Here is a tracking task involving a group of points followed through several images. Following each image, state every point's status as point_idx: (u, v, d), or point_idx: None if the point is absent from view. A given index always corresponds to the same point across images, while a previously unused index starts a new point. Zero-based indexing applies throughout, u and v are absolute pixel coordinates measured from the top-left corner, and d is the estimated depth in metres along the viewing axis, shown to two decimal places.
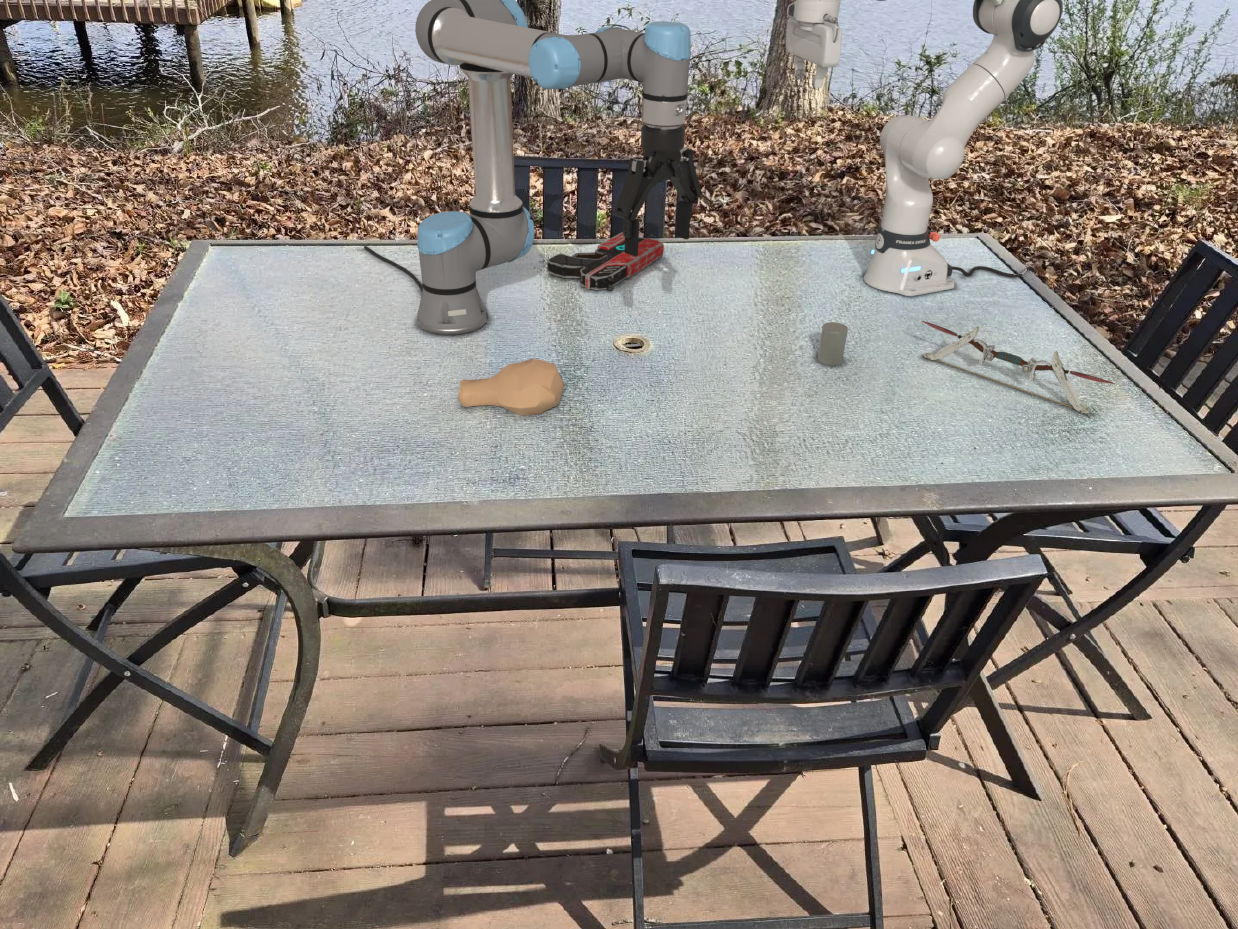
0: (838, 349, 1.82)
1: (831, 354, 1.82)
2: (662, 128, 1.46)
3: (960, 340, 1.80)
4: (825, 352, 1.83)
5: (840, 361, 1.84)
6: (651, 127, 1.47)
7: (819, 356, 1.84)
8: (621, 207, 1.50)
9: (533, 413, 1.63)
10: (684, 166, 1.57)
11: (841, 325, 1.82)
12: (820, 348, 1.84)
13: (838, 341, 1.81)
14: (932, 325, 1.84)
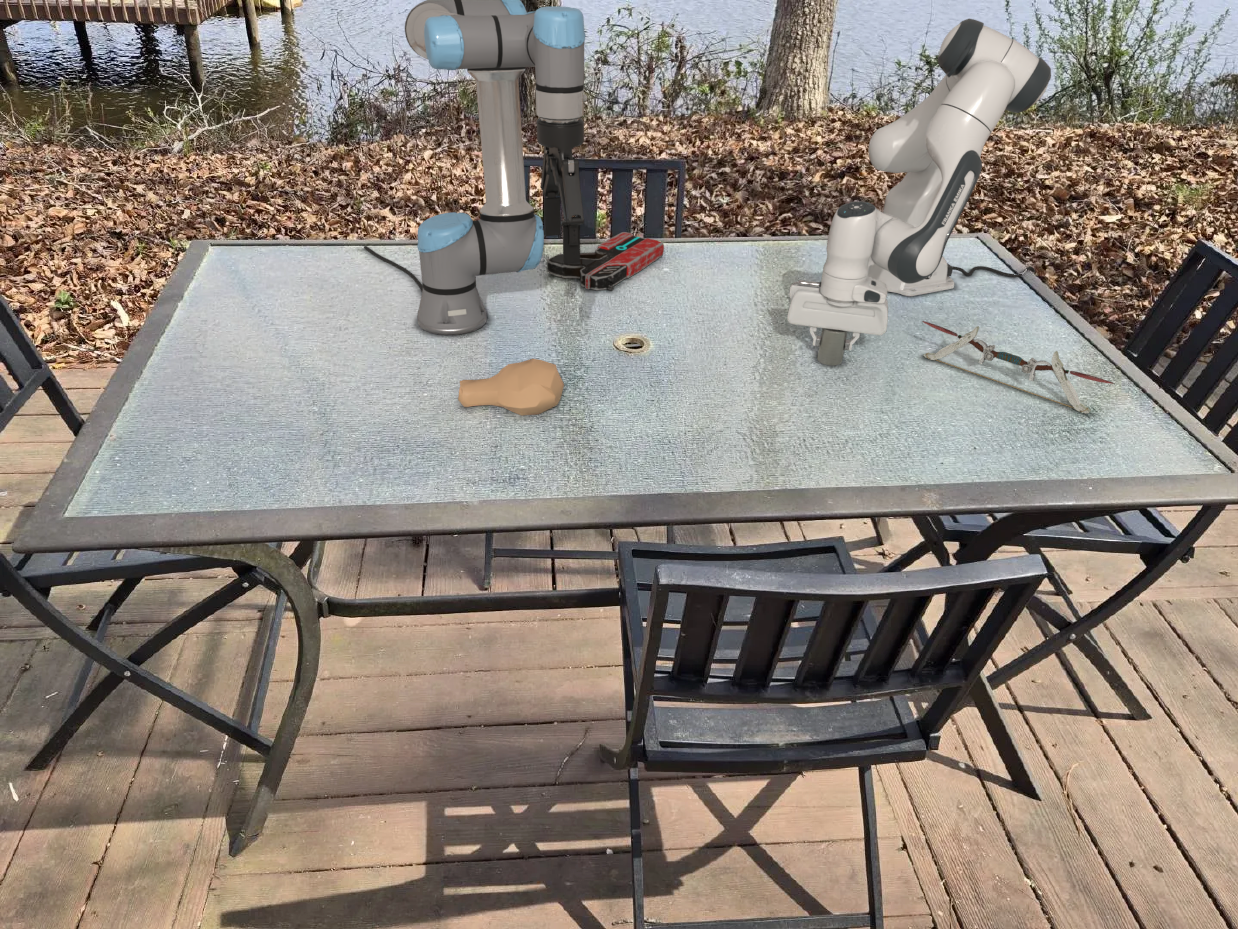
0: (838, 349, 1.82)
1: (831, 354, 1.82)
2: (576, 120, 1.37)
3: (960, 340, 1.80)
4: (825, 352, 1.83)
5: (840, 361, 1.84)
6: (566, 122, 1.36)
7: (819, 356, 1.84)
8: (576, 213, 1.37)
9: (533, 413, 1.63)
10: None
11: None
12: (820, 348, 1.84)
13: (838, 341, 1.81)
14: (932, 325, 1.84)
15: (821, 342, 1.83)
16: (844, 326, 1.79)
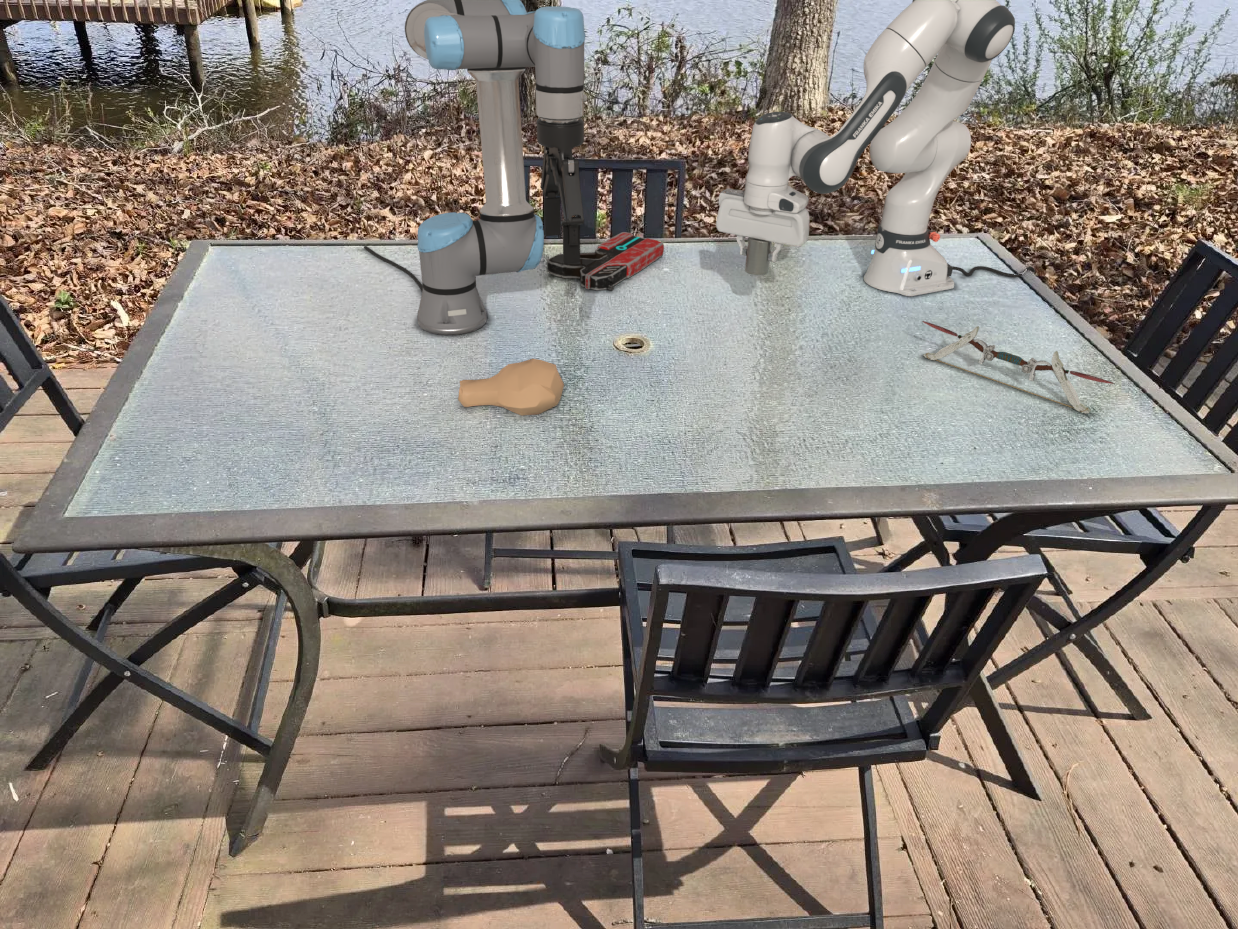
0: (760, 258, 1.89)
1: (754, 263, 1.90)
2: (576, 120, 1.37)
3: (960, 340, 1.80)
4: (749, 261, 1.91)
5: (764, 272, 1.91)
6: (566, 122, 1.36)
7: (745, 265, 1.93)
8: (576, 213, 1.37)
9: (533, 413, 1.63)
10: None
11: None
12: (746, 257, 1.92)
13: (760, 250, 1.88)
14: (932, 325, 1.84)
15: (747, 251, 1.91)
16: (765, 235, 1.87)
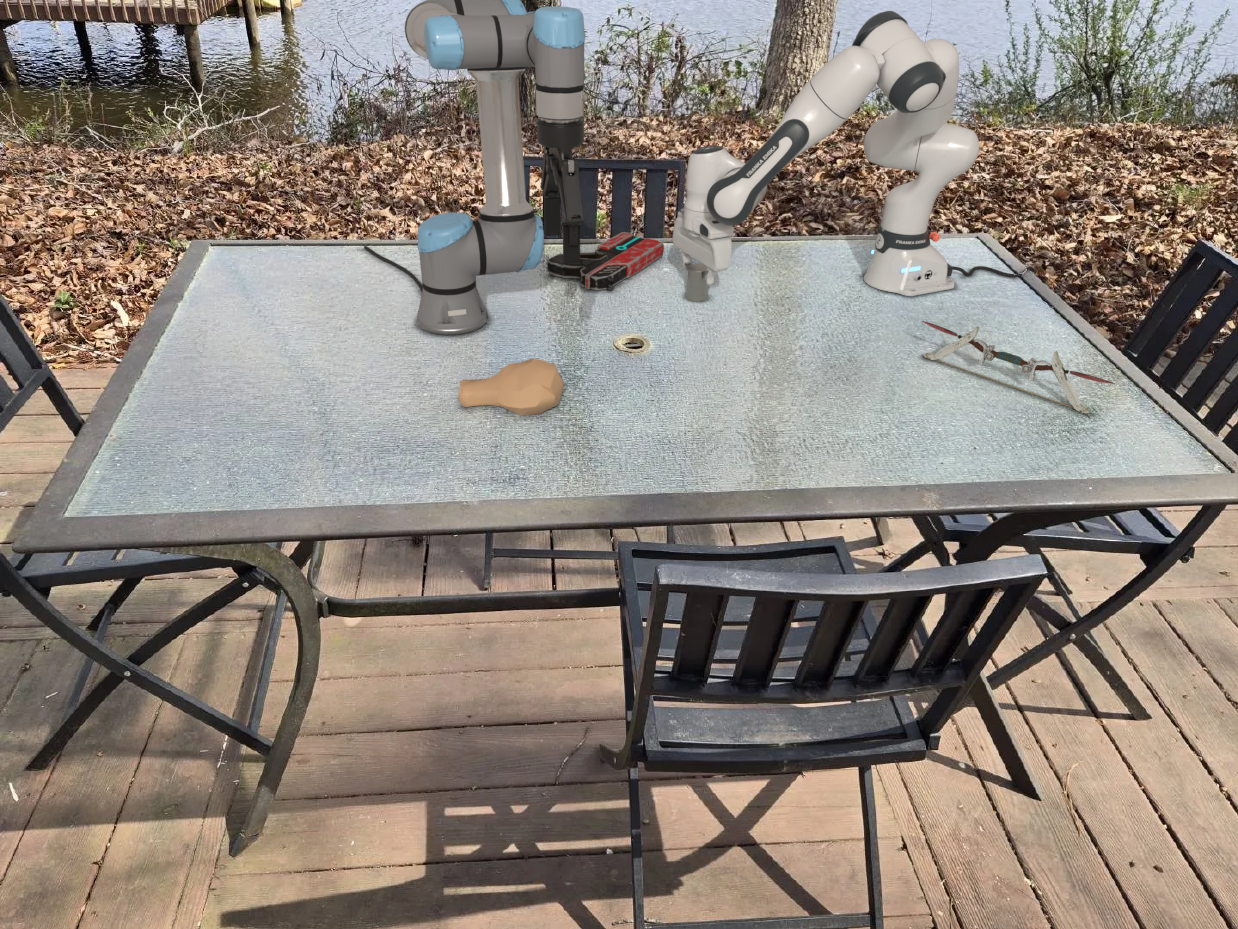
0: (692, 285, 2.08)
1: (688, 289, 2.09)
2: (576, 120, 1.37)
3: (960, 340, 1.80)
4: None
5: (697, 299, 2.10)
6: (566, 122, 1.36)
7: None
8: (576, 213, 1.37)
9: (533, 413, 1.63)
10: None
11: (705, 268, 2.07)
12: None
13: (692, 278, 2.07)
14: (932, 325, 1.84)
15: None
16: (697, 256, 2.04)
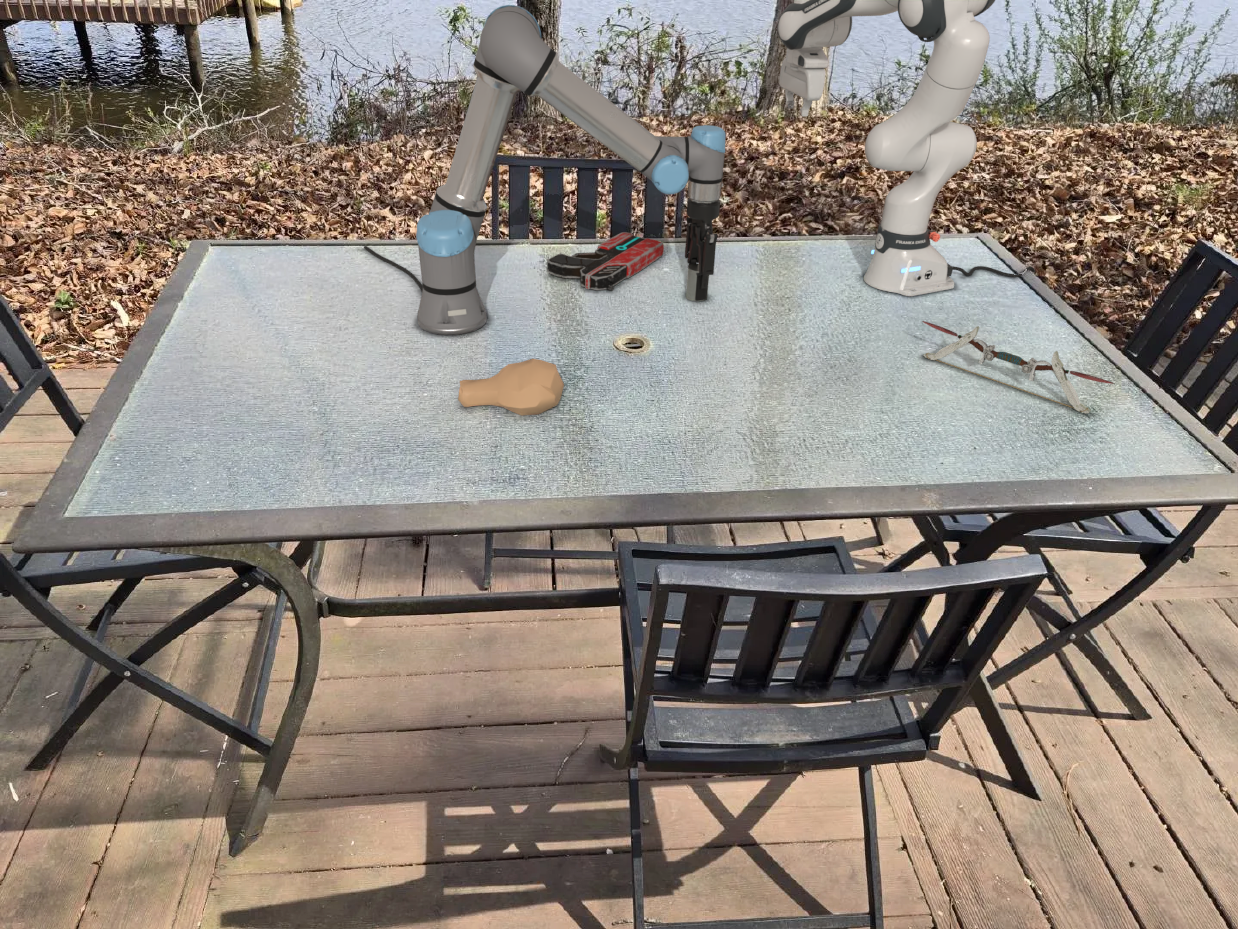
0: (692, 285, 2.08)
1: (688, 289, 2.09)
2: (716, 201, 1.97)
3: (960, 340, 1.80)
4: None
5: None
6: (710, 203, 1.96)
7: None
8: (709, 269, 2.02)
9: (533, 413, 1.63)
10: None
11: None
12: None
13: (692, 278, 2.07)
14: (932, 325, 1.84)
15: None
16: (795, 89, 2.29)
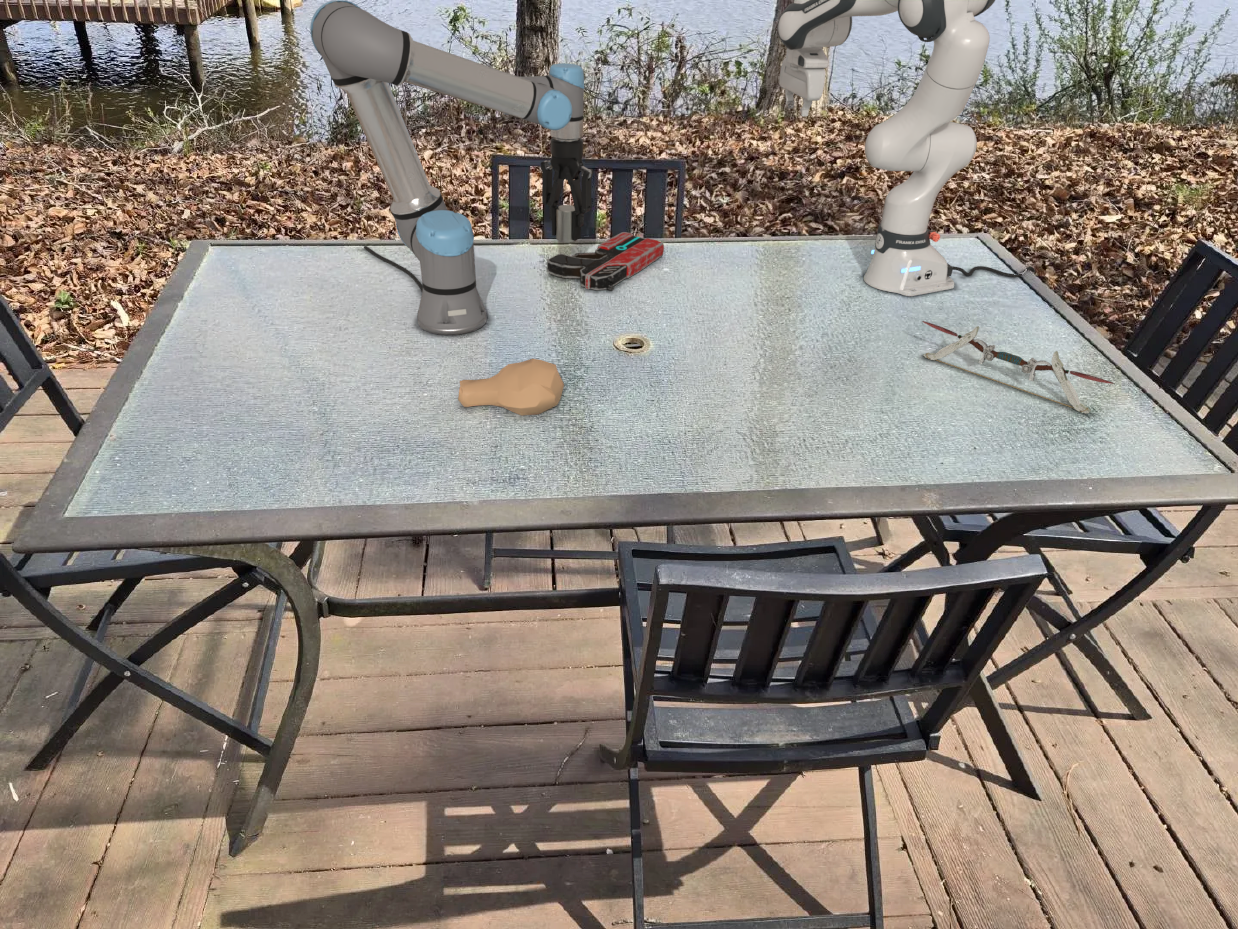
0: (568, 227, 2.10)
1: (563, 231, 2.11)
2: (580, 137, 2.02)
3: (960, 340, 1.80)
4: (558, 229, 2.11)
5: None
6: (578, 139, 2.00)
7: (556, 234, 2.13)
8: (588, 205, 2.07)
9: (533, 413, 1.63)
10: (549, 174, 2.08)
11: (573, 207, 2.11)
12: (556, 227, 2.13)
13: (567, 219, 2.09)
14: (932, 325, 1.84)
15: (556, 221, 2.12)
16: (795, 89, 2.29)
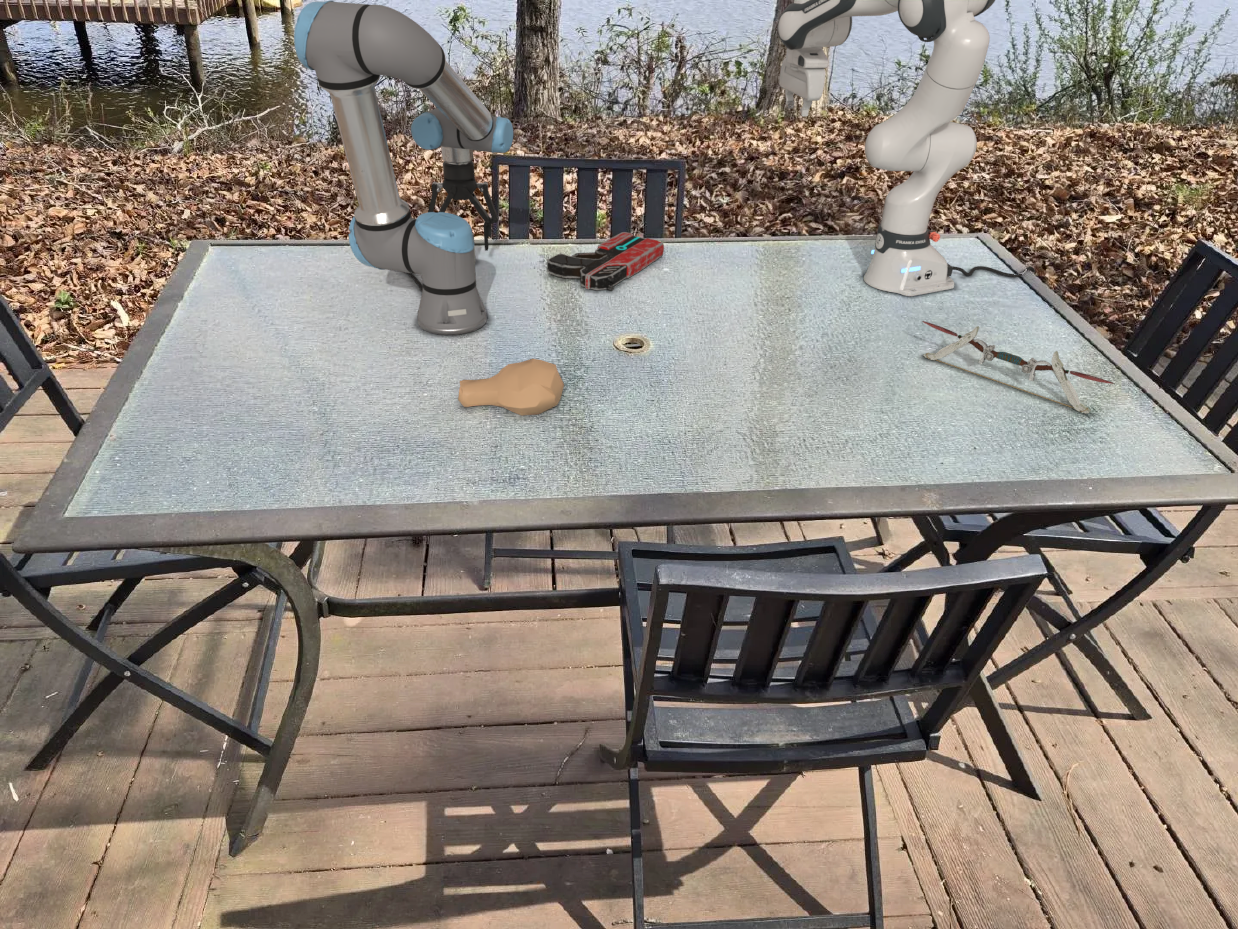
0: None
1: None
2: None
3: (960, 340, 1.80)
4: None
5: None
6: (471, 160, 2.13)
7: None
8: (496, 214, 2.21)
9: (533, 413, 1.63)
10: None
11: None
12: None
13: None
14: (932, 325, 1.84)
15: None
16: (795, 89, 2.29)
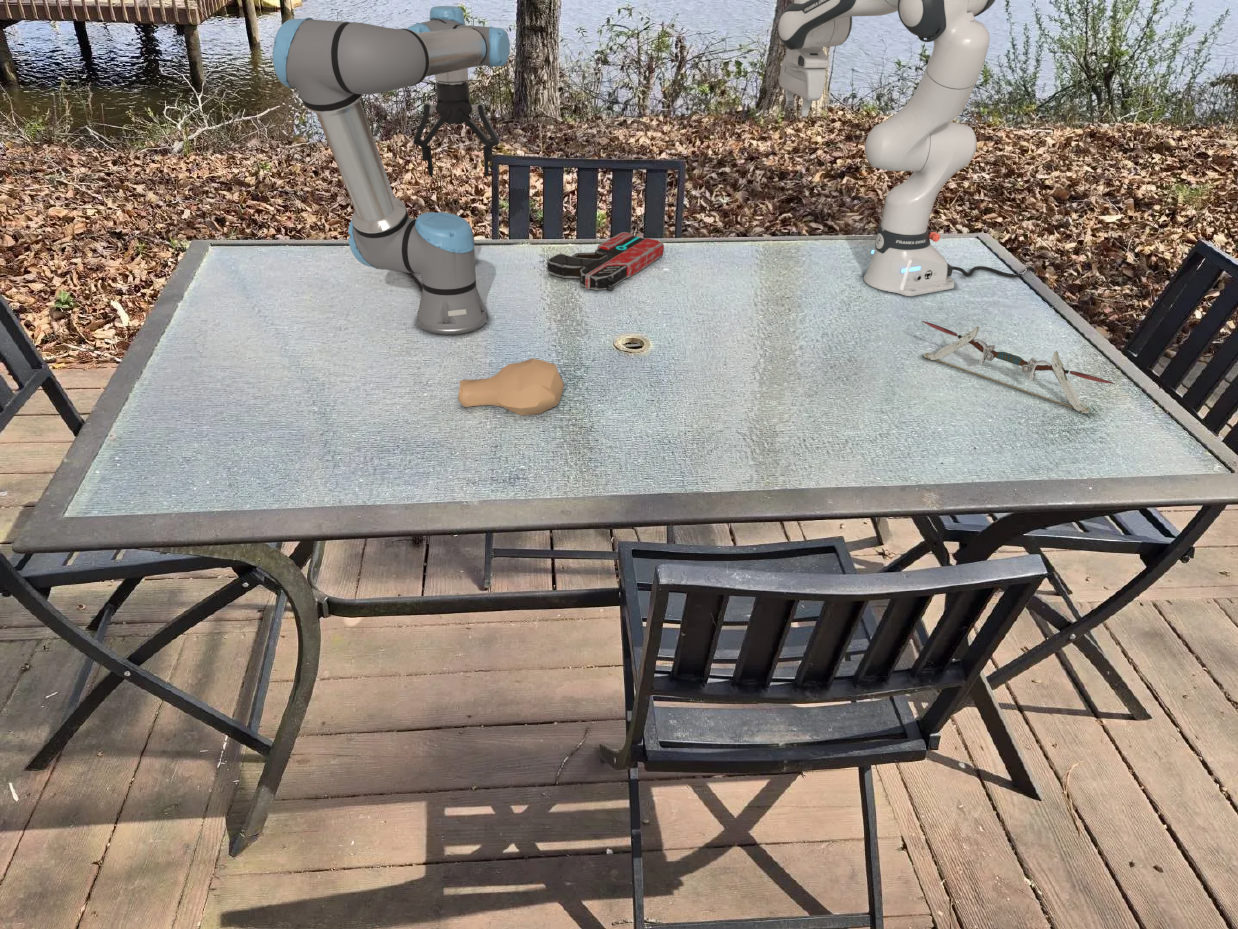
0: None
1: None
2: None
3: (960, 340, 1.80)
4: None
5: None
6: (465, 81, 2.03)
7: None
8: (496, 136, 2.11)
9: (533, 413, 1.63)
10: (428, 117, 2.07)
11: None
12: None
13: None
14: (932, 325, 1.84)
15: None
16: (795, 89, 2.29)
